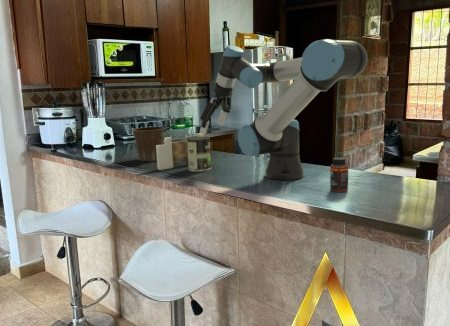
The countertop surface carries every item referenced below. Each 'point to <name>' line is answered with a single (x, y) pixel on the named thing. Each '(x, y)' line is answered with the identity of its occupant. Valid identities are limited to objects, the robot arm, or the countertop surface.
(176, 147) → the door
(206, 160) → the coffee can
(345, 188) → the supplement bottle
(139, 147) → the plant pot
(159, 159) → the door frame
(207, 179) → the countertop surface
